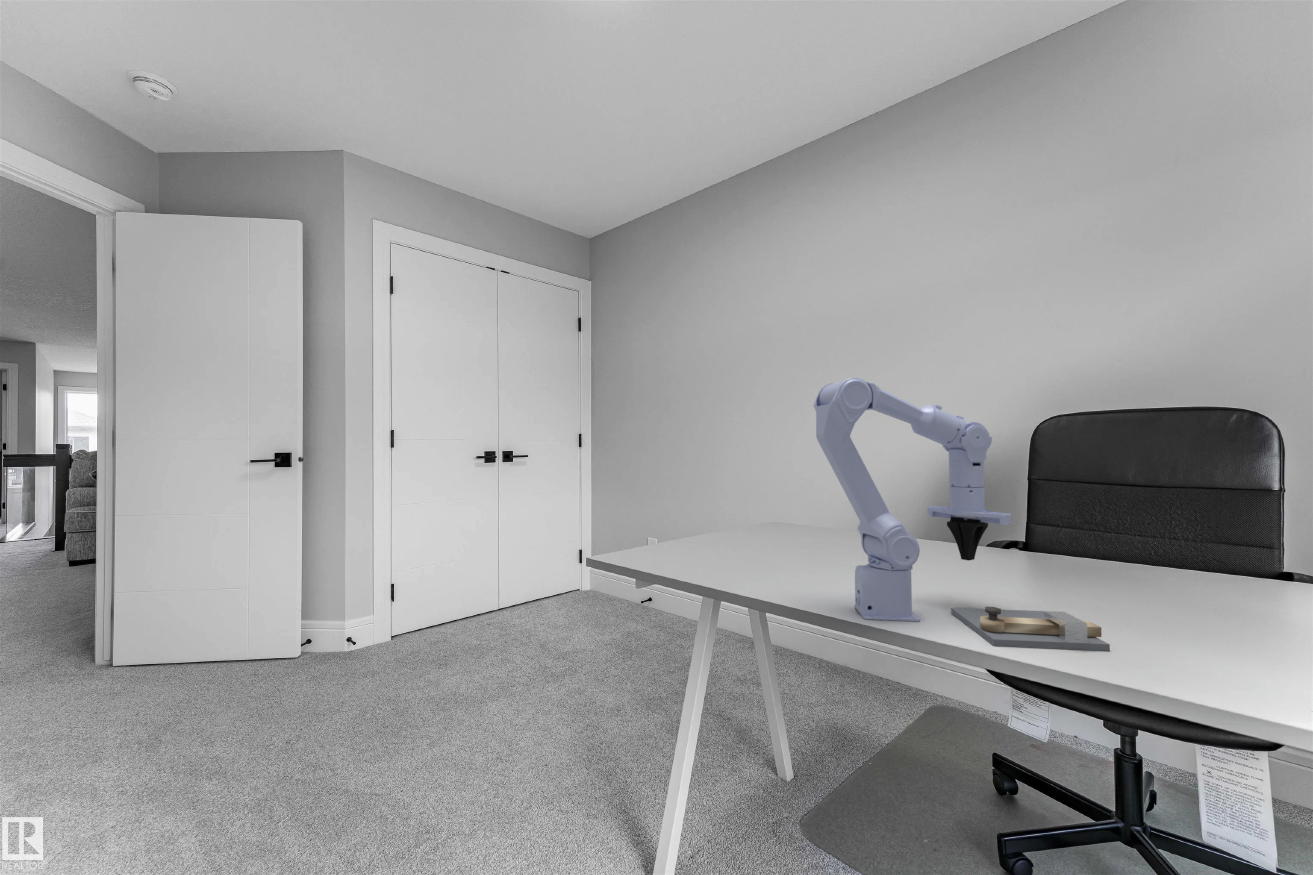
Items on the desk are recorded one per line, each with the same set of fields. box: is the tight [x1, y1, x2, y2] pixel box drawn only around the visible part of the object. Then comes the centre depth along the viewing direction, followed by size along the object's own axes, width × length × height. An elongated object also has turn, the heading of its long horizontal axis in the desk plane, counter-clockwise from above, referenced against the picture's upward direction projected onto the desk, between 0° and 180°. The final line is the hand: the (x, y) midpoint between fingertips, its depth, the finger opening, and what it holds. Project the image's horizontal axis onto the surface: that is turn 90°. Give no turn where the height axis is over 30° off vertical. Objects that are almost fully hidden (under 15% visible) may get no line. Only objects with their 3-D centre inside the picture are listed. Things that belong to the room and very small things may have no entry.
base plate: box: [950, 607, 1111, 652], centre depth 88 cm, size 16×16×1 cm
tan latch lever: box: [980, 606, 1102, 638], centre depth 84 cm, size 16×4×3 cm, turn 80°
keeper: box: [1043, 610, 1087, 643], centre depth 82 cm, size 3×6×3 cm, turn 172°
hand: (967, 559), depth 99 cm, fingers closed
